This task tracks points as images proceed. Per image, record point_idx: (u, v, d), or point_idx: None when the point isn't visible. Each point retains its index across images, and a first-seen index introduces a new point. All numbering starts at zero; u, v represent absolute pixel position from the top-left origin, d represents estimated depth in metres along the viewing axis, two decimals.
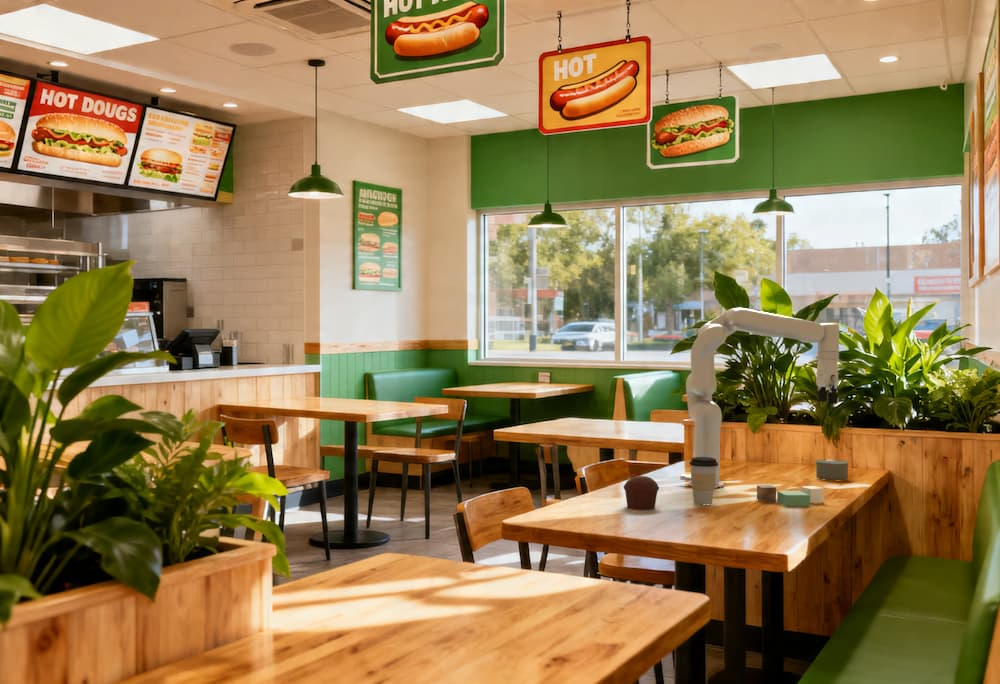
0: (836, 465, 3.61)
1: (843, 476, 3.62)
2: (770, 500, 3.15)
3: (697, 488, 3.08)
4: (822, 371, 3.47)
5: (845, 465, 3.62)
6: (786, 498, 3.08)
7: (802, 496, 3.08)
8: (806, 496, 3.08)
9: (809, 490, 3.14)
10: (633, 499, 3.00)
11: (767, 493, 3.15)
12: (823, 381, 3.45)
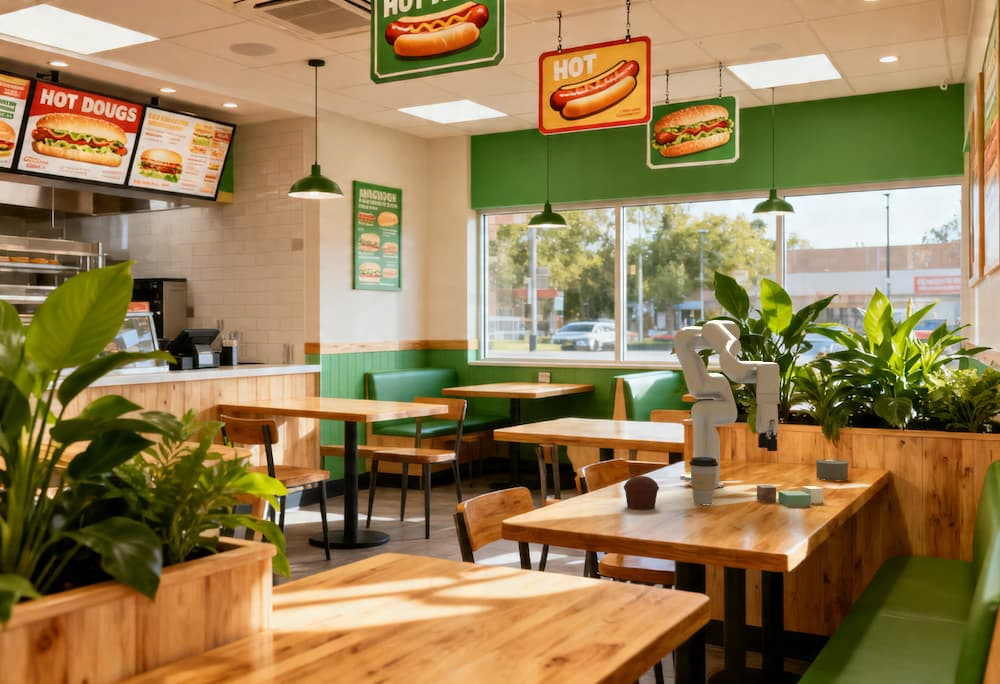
0: (836, 465, 3.61)
1: (843, 476, 3.62)
2: (770, 500, 3.15)
3: (697, 488, 3.08)
4: (761, 415, 3.16)
5: (845, 465, 3.62)
6: (788, 498, 3.08)
7: (804, 496, 3.08)
8: (808, 496, 3.08)
9: (809, 490, 3.14)
10: (633, 499, 3.00)
11: (767, 493, 3.15)
12: (762, 426, 3.14)
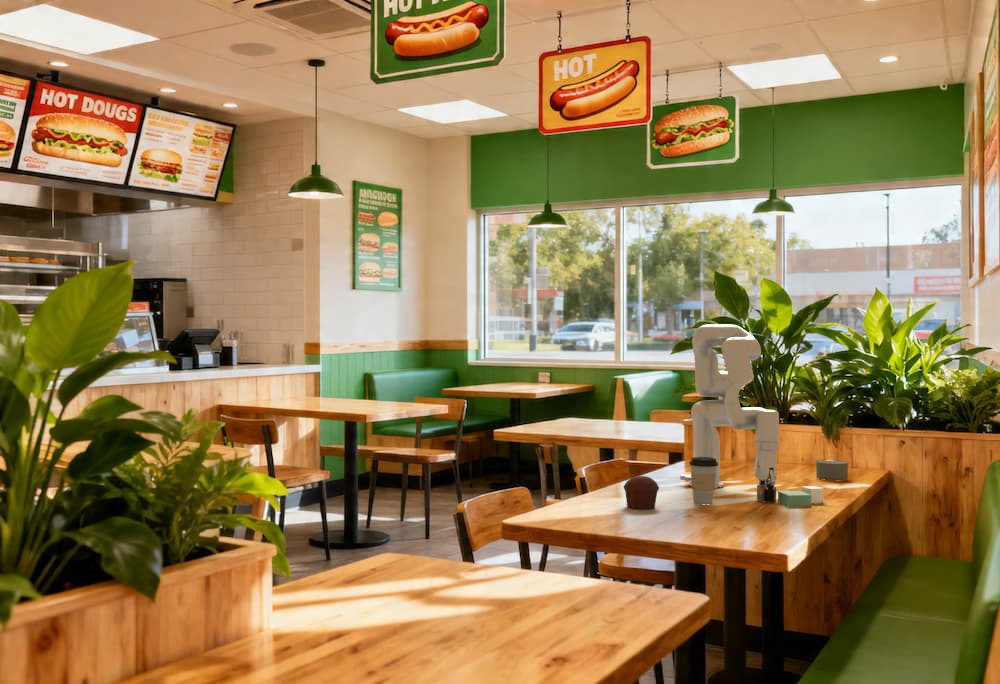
0: (836, 465, 3.61)
1: (843, 476, 3.62)
2: None
3: (697, 488, 3.08)
4: (760, 462, 3.16)
5: (845, 465, 3.62)
6: (789, 498, 3.07)
7: (804, 496, 3.08)
8: (808, 496, 3.08)
9: (809, 490, 3.14)
10: (633, 499, 3.00)
11: None
12: (761, 474, 3.15)
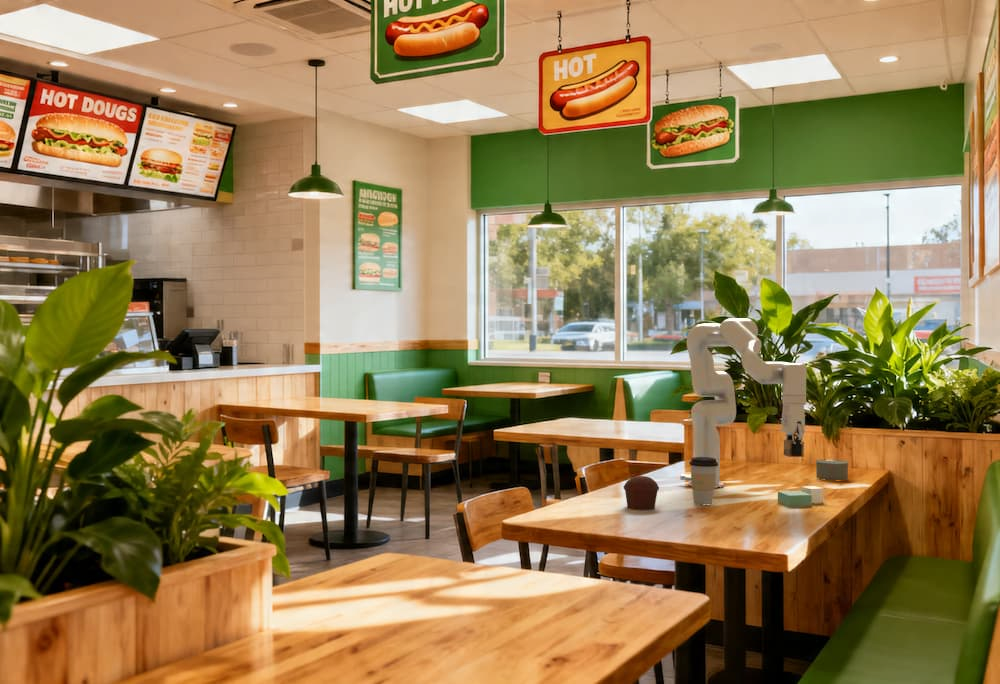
0: (836, 465, 3.61)
1: (843, 476, 3.62)
2: None
3: (697, 488, 3.08)
4: (787, 416, 3.10)
5: (845, 465, 3.62)
6: (789, 498, 3.07)
7: (805, 496, 3.08)
8: (808, 496, 3.08)
9: (809, 490, 3.14)
10: (633, 499, 3.00)
11: None
12: (788, 428, 3.09)
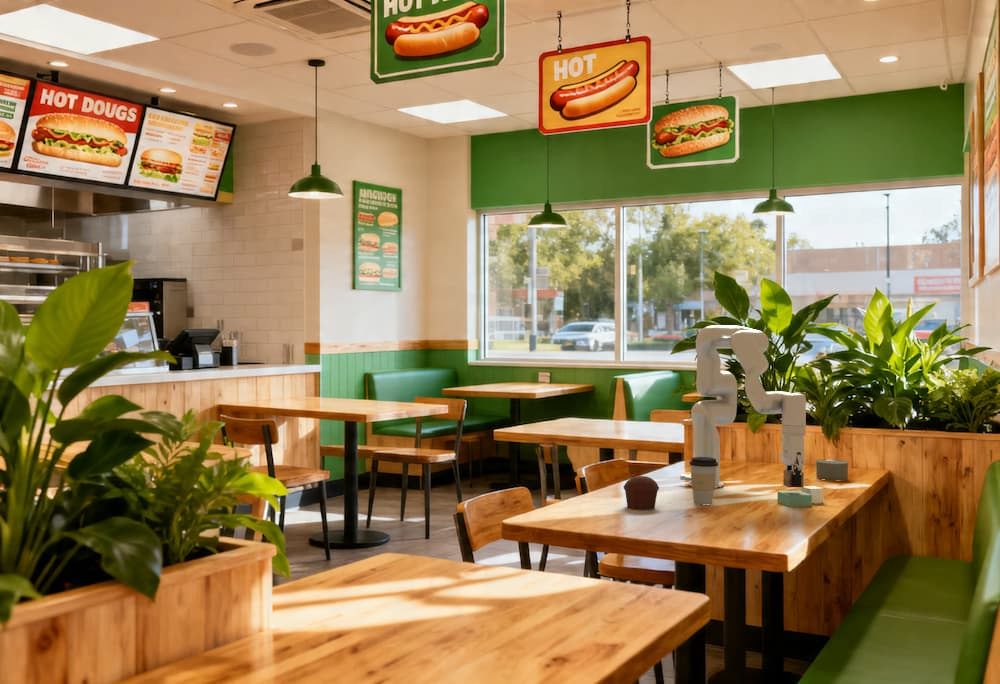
0: (836, 465, 3.61)
1: (843, 476, 3.62)
2: None
3: (697, 488, 3.08)
4: (786, 447, 3.10)
5: (845, 465, 3.62)
6: (790, 498, 3.07)
7: (805, 496, 3.08)
8: (809, 496, 3.08)
9: (809, 490, 3.14)
10: (633, 499, 3.00)
11: None
12: (788, 459, 3.09)
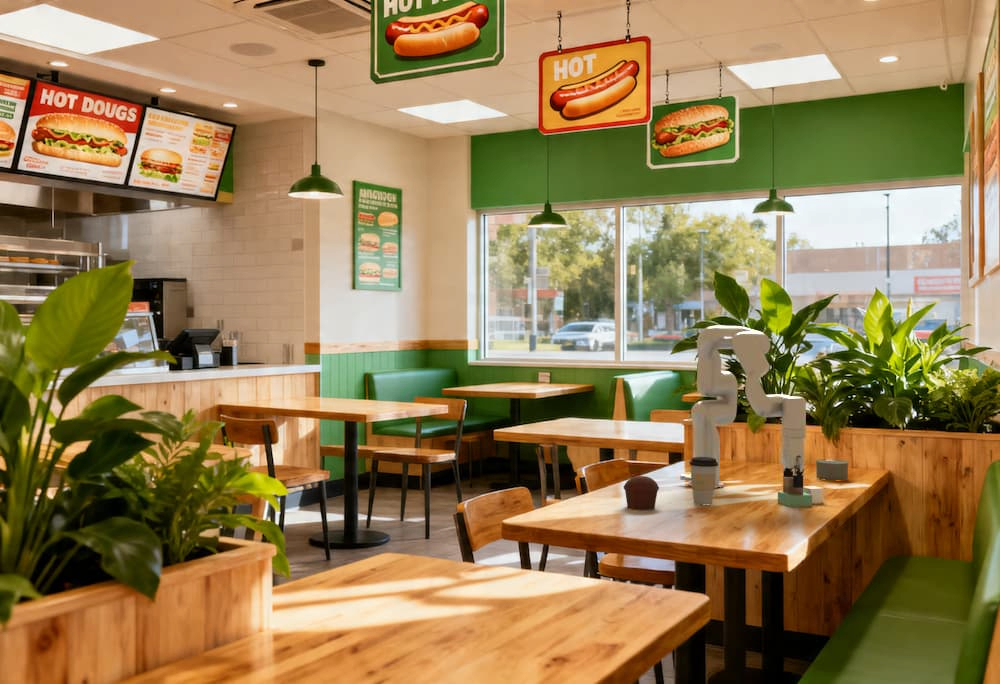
0: (836, 465, 3.61)
1: (843, 476, 3.62)
2: (797, 492, 3.10)
3: (697, 488, 3.08)
4: (786, 450, 3.10)
5: (845, 465, 3.62)
6: (791, 499, 3.07)
7: (805, 496, 3.08)
8: (809, 496, 3.08)
9: (809, 490, 3.14)
10: (633, 499, 3.00)
11: None
12: (788, 462, 3.09)
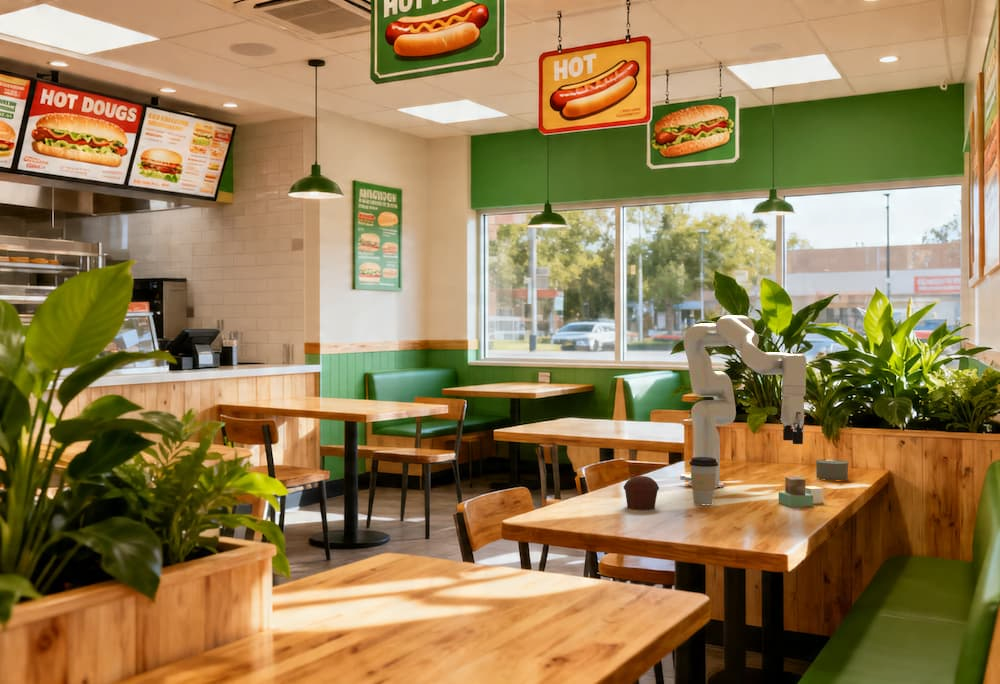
0: (836, 465, 3.61)
1: (843, 476, 3.62)
2: (799, 492, 3.09)
3: (697, 488, 3.08)
4: (786, 407, 3.11)
5: (845, 465, 3.62)
6: (792, 499, 3.07)
7: (806, 496, 3.08)
8: (810, 496, 3.08)
9: (809, 490, 3.14)
10: (633, 499, 3.00)
11: (797, 485, 3.09)
12: (787, 419, 3.10)
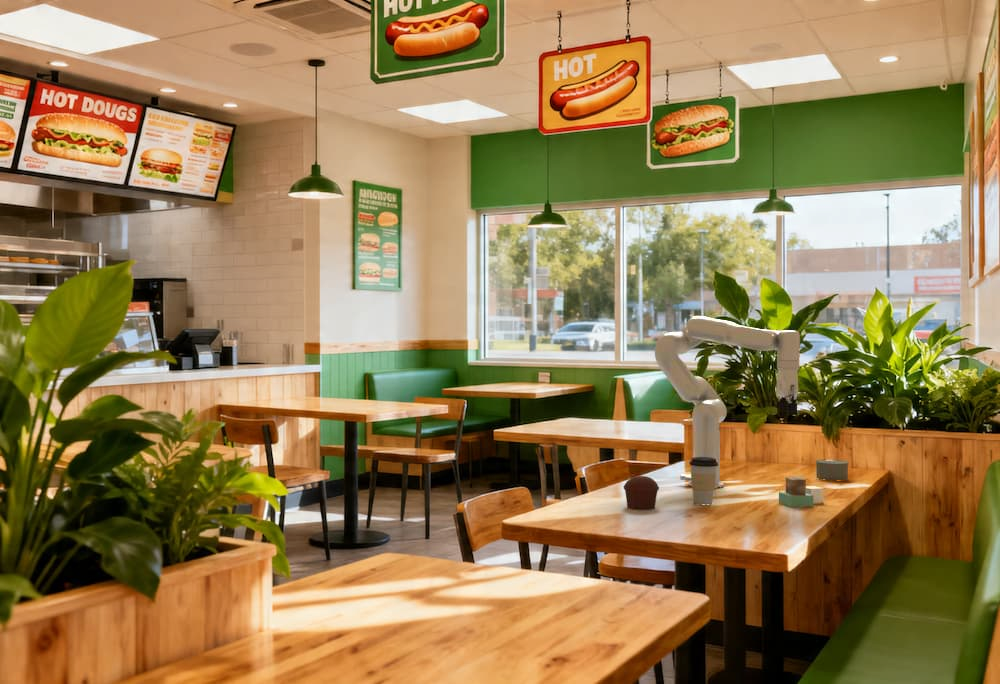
0: (836, 465, 3.61)
1: (843, 476, 3.62)
2: (799, 492, 3.09)
3: (697, 488, 3.08)
4: (781, 380, 3.31)
5: (845, 465, 3.62)
6: (792, 499, 3.06)
7: (807, 497, 3.07)
8: (810, 496, 3.08)
9: (809, 490, 3.14)
10: (633, 499, 3.00)
11: (797, 485, 3.09)
12: (783, 391, 3.30)
